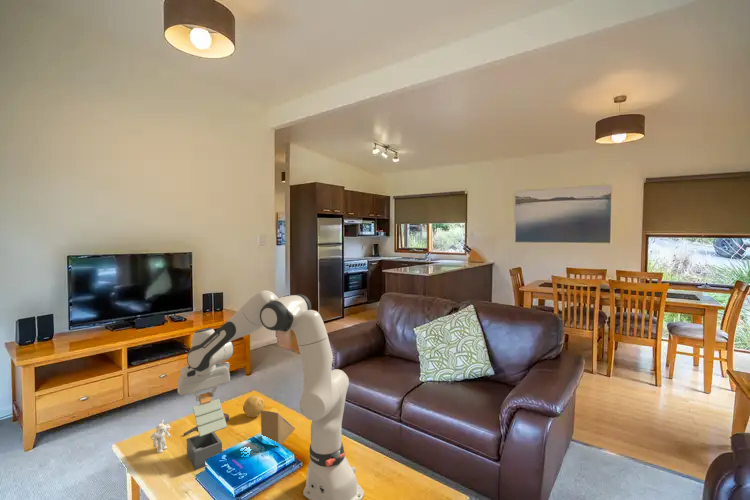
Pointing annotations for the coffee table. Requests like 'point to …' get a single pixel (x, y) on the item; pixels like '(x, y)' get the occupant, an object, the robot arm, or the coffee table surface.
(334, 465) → the robot arm
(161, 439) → the flower shoulder figurine
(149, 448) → the coffee table surface
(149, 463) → the coffee table surface
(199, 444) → the parts tub
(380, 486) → the coffee table surface
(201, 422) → the lid
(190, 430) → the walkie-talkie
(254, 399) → the stress ball
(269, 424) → the sandwich container
